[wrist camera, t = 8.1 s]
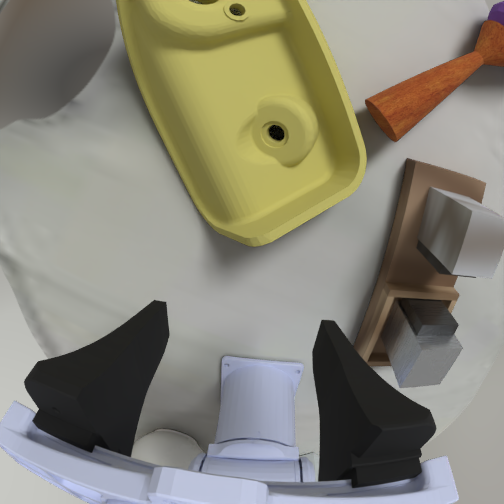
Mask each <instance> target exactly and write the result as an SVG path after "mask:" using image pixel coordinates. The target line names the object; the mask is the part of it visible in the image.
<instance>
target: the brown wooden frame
mask: <svg viewBox="0 0 504 504" xmlns="http://www.w3.org/2000/svg"><path fill="white" fill-rule="evenodd" d="M485 186H486V183H484V182H482V181H480V180H478V179H475V178H472V177H469V176H466V175H463V174H460V173H457V172H454V171H451V170H447V169H444V168H441V167H437V166H434V165H430V164H427V163H423V162H420V161H416V160H412V159H408V158H407V161H406V167H405V172H404V178H403V183H402V187H401V192H400V197H399V201H398V206H397V210H396V214H395V218H394V223H393V226H392V230H391V234H390V238H389V242H388V245H387V249H386V252H385V256H384V259H383V263H382V266H381V269H380V273H379V276H378V279H377V282H376V285H375V288H374V291H373V294H372V297H371V300H370V303H369V306H368V309H367V312H366V315H365V317H364V320H363V323H362V325H361V328H360V331H359V333H358V336H357V338H356V341H355V344H354V346H353V347H354V348H355V350H356V351H357V352H358V354H359V355H360V356H361V357H362V358H363V359H364V361H365V362H366V363H367V364H368V365H369V366H392V365H391V362H390V360H389V357H388V354H387V352H386V349H385V347H384V344H383V341H382V339H381V336H382V334H383V331H384V329H385V327H386V324H387V322H388V319H389V317H390V314H391V312H392V309H393V307H394V304H395V302H396V301H401V300H402V298H417V299H434V300H441V301H442V302H443V303H444V305H445V306H446V308H447V309H448V310H449V312H450V313H451V312H452V310H453V308H454V306H455V304H456V301H457V299H458V297H459V293H458V292H457V291H456V290H455V289H454V285H455V282H456V280H457V277H458V276H463V277H473V278H476V277H482V278H491V279H492V278H493V276H494V273H495V271H496V268H497V266H498V263H499V260H500V258H501V255H502V252H503V249H504V217H502V216H501V215H499V214H498V213H496V212H494V211H493V210H491V209H489V208H487V207H486V206H484V205H482V204H481V203H482V199H483V195H484V190H485Z"/></svg>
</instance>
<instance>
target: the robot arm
mask: <svg viewBox="0 0 504 504" xmlns="http://www.w3.org/2000/svg"><path fill="white" fill-rule="evenodd" d="M168 338H169V326H168V316H167V305H166V302H162V301H156V300H154V301H153V302H151V303H150V304H149V305H147V306H146V307H145V308H144V309H142V310H141V311H140V312H139V313H137V314H136V315H135V316H134V317H132V318H131V319H130V320H128V321H127V322H126V323H124V324H123V325H121V326H120V327H118V328H117V329H116V330H114V331H113V332H111V333H110V334H108V335H106V336H105V337H103V338H101V339H99V340H98V341H96V342H94V343H92V344H90V345H87V346H85V347H83V348H81V349H79V350H76V351H74V352H71V353H68V354H65V355H62V356H59V357H55V358H51V359H47V360H42V361H38V362H37V363H36V365H35V366H34V368H33V369H32V371H31V372H30V373H29V375H28V376H27V377H26V379H25V381H24V383H25V388H26V390H27V392H28V393H29V395H30V396H31V398H32V399H33V401H34V402H35V404H36V405H37V407H38V408H39V410H38V412H37V413H35V412H34V411H33V410H31V409H29V408H28V407H26V406H24V405H22V404H20V403H19V402H17V401H14V402H13V403H12V405H11V406H10V408H9V409H8V411H7V413H6V414H5V416H4V417H3V419H2V421H1V422H0V447H1V448H2V449H3V450H5V452H6V453H7V454H9V455H10V456H11V457H12V458H13V459H14V460H15V461H16V462H17V463H19V464H20V465H22V466H23V467H25V468H26V469H28V470H29V471H31V472H33V473H34V474H36V475H38V476H39V477H41V478H43V479H44V480H46V481H48V482H49V483H51V484H53V485H55V486H56V487H58V488H60V489H62V490H64V491H66V492H68V493H69V494H71V495H73V496H75V497H77V498H79V499H81V500H83V501H85V502H87V503H90V504H452V503H454V502H456V501H458V499H459V497H458V493H457V489H456V486H455V482H454V478H453V475H452V471H451V467H450V464H449V461H448V458H447V456H441V457H438V458H434V459H430V460H426V461H424V462H422V463H420V461H419V457H421V455H422V453H421V450H420V448H421V447H422V446H423V445H424V444H425V443H426V442H427V441H428V440H429V439H430V438H431V437H432V436H433V435H434V433H435V431H436V425H435V422H434V419H433V417H432V414H431V412H430V410H429V409H427V408H425V407H423V406H421V405H419V404H417V403H416V402H414V401H412V400H410V399H409V398H407V397H406V396H404V395H403V394H401V393H400V392H398V391H397V390H396V389H394V388H393V387H392V386H391V385H389V384H388V383H387V382H386V381H385V380H383V379H382V378H381V377H380V376H379V375H378V374H377V373H376V372H375V371H374V370H373V369H372V368H371V367H370V366H369V365H368V364H367V363H366V362H365V361H364V359H363V358H362V357H361V356H360V355H359V354H358V352H357V351H356V350H355V348H354V347H353V346H352V345H351V343H350V342H349V341H348V339H347V338H346V336H345V335H344V334H343V332H342V331H341V329H340V328H339V326H338V325H337V324H336V322H335V321H332V320H322V321H321V324H320V328H319V331H318V334H317V338H316V341H315V345H314V348H313V351H312V355H313V374H314V380H315V387H316V393H317V399H318V406H319V415H320V457H319V473H318V482H316V481H315V470H314V465H313V463H312V462H311V461H309V460H308V458H307V457H300V458H299V448H298V447H296V440H295V405H294V397H295V394H296V391H297V388H298V385H299V382H300V379H301V376H302V372H303V369H304V365H303V364H302V363H295V362H281V361H269V360H259V359H249V358H240V357H232V356H224V357H223V358H222V368H221V408H220V413H219V419H218V425H217V430H216V436H215V442H214V444H209V446H208V451H207V454H206V453H200V454H198V455H197V457H195V458H194V459H193V460H192V461H191V463H190V465H189V467H188V469H183V468H178V467H171V466H160V465H156V464H153V463H149V462H145V461H142V460H138V459H135V458H131V455H132V449H133V443H134V438H135V434H136V429H137V425H138V421H139V417H140V413H141V409H142V406H143V403H144V399H145V396H146V393H147V390H148V388H149V385H150V383H151V381H152V379H153V377H154V374H155V372H156V370H157V368H158V365H159V363H160V361H161V359H162V356H163V354H164V352H165V348H166V345H167V342H168ZM226 363H227V364H226ZM297 370H299V371H297Z"/></svg>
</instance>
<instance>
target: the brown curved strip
mask: <svg viewBox="0 0 504 504" xmlns="http://www.w3.org/2000/svg"><path fill="white" fill-rule="evenodd" d="M200 453H204V452H203V451H202V449H201V448H200V447H199V446H198V443H197V441H196V440H195V439H193V438H192V437H190V436H189V435H186V434H184V433H182V432H179V431H175V430H170V429H157V430H155V431H154V432H153V433H149V434H147V435H145V436H143V437H141V438H140V439H139V440H138V441H136V442H135V444H134V445H133V449H132V455H131V458H135V459H138V460H142V461H145V462H149V463H153V464H156V465H160V466H171V467H178V468H183V469H188V467H189V465H190V463H191V461H192V460H193V459H194V458H195V457H197V455H198V454H200Z"/></svg>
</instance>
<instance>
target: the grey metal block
mask: <svg viewBox="0 0 504 504" xmlns="http://www.w3.org/2000/svg"><path fill="white" fill-rule="evenodd" d="M457 327H458V323H457V322H456V320H455V319H454V317H453V316H452V315H451V313H450V312H449V310H448V309H447V308H446V306H445V305H444V303H443V302H442V301H441V300H434V299H417V298H402V300H401V301H396V302H395V304H394V307H393V309H392V312H391V314H390V317H389V319H388V322H387V324H386V327H385V329H384V331H383V334H382V336H381V339H382V341H383V344H384V347H385V349H386V352H387V354H388V357H389V360H390V362H391V365H392V368H393V371H394V373H395V376H396V379H397V382H398V385H399V387H400V388H407V387H418V386H428V385H437V384H440V383H441V381H442V380H443V379H444V377H445V376H446V374H447V373H448V371H449V370H450V368H451V366H452V365H453V363H454V362H455V360H456V359H457V357H458V355H459V354H460V352H461V350H462V349H463V347H462V346H461V344H460V342H459V341H458V339H457V338H456V336H455V334H454V333H455V331H456V329H457Z"/></svg>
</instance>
